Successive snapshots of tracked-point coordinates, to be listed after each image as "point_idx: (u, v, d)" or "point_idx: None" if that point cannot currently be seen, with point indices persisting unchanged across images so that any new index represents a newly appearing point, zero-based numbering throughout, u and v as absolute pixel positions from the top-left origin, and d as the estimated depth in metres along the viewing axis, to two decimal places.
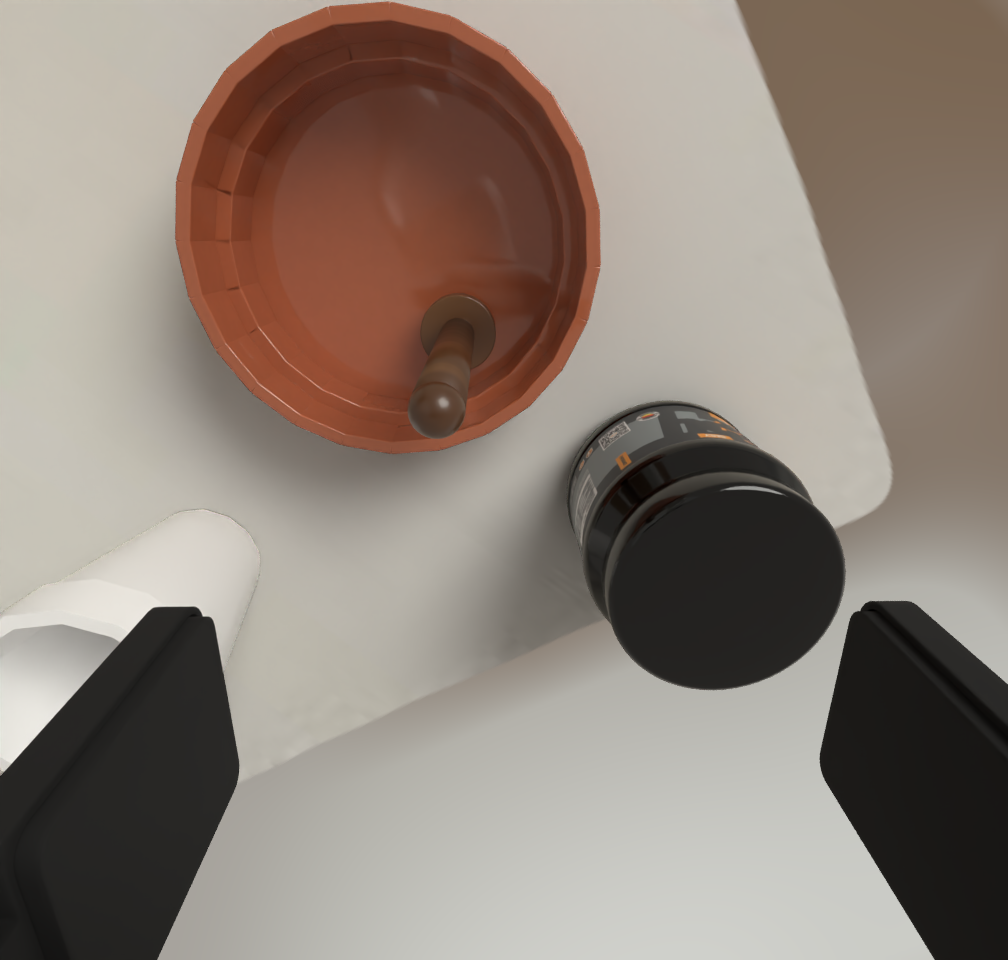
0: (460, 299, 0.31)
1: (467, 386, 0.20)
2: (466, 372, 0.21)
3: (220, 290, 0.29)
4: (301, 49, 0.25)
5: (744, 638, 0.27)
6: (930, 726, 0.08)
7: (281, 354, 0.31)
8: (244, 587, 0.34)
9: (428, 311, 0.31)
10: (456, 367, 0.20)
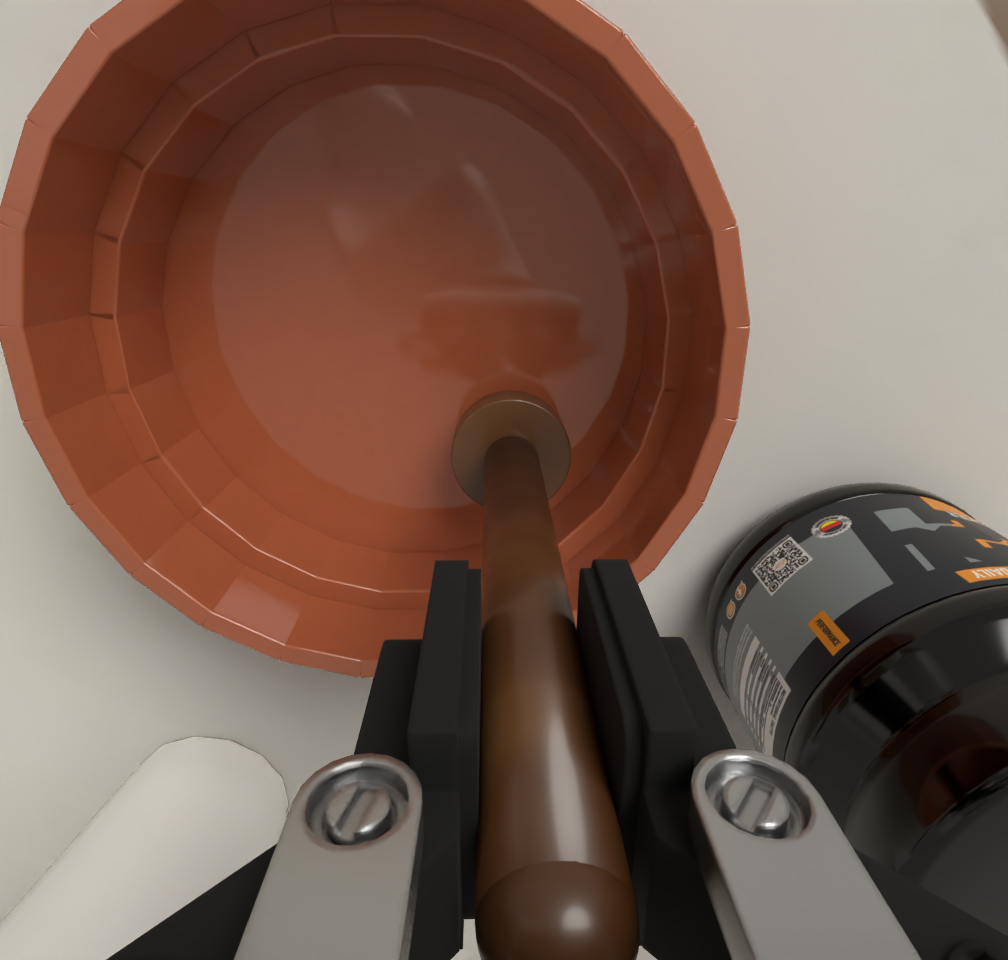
0: (506, 406, 0.19)
1: (597, 727, 0.09)
2: (579, 661, 0.10)
3: (128, 469, 0.18)
4: (159, 53, 0.14)
5: None
6: (596, 661, 0.09)
7: (246, 539, 0.20)
8: None
9: (459, 433, 0.19)
10: (562, 683, 0.09)
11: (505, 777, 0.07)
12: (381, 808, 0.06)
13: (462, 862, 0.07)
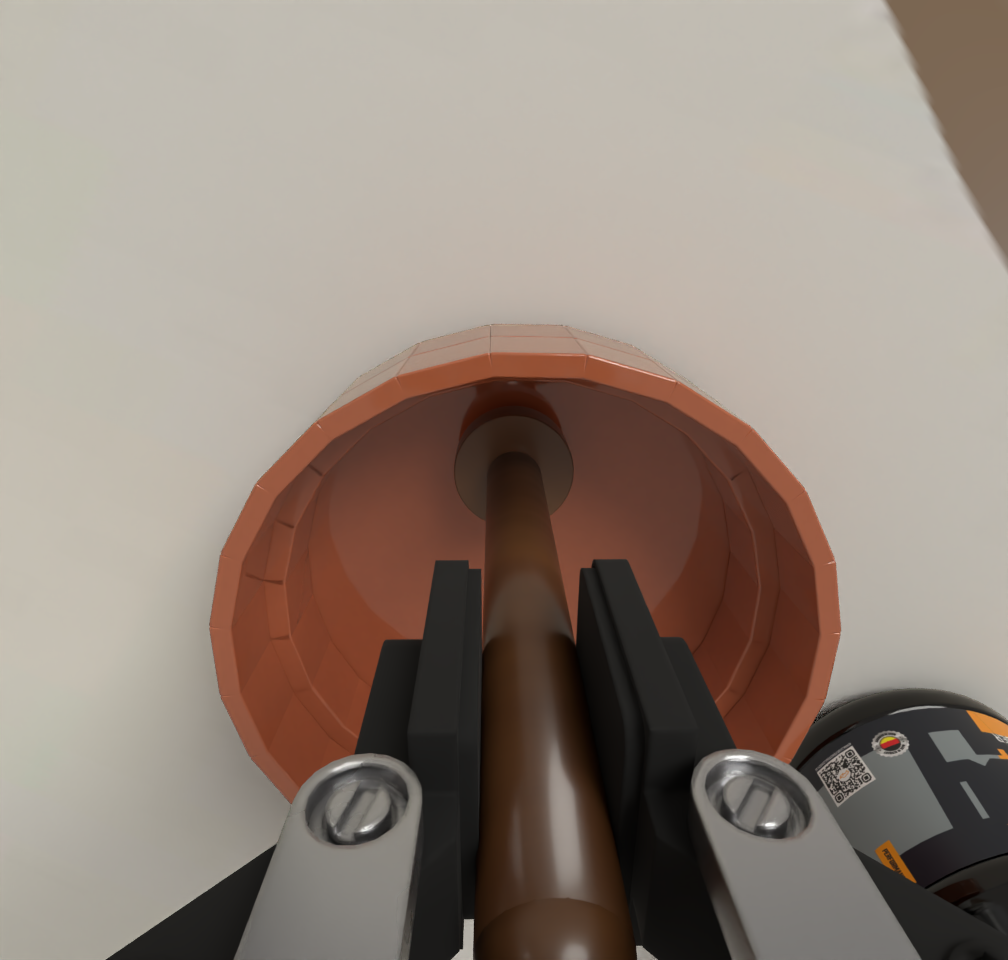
0: (482, 513, 0.20)
1: (482, 756, 0.08)
2: None
3: (287, 704, 0.21)
4: None
5: None
6: (596, 660, 0.09)
7: None
8: None
9: None
10: None
11: None
12: (381, 808, 0.06)
13: (462, 862, 0.07)
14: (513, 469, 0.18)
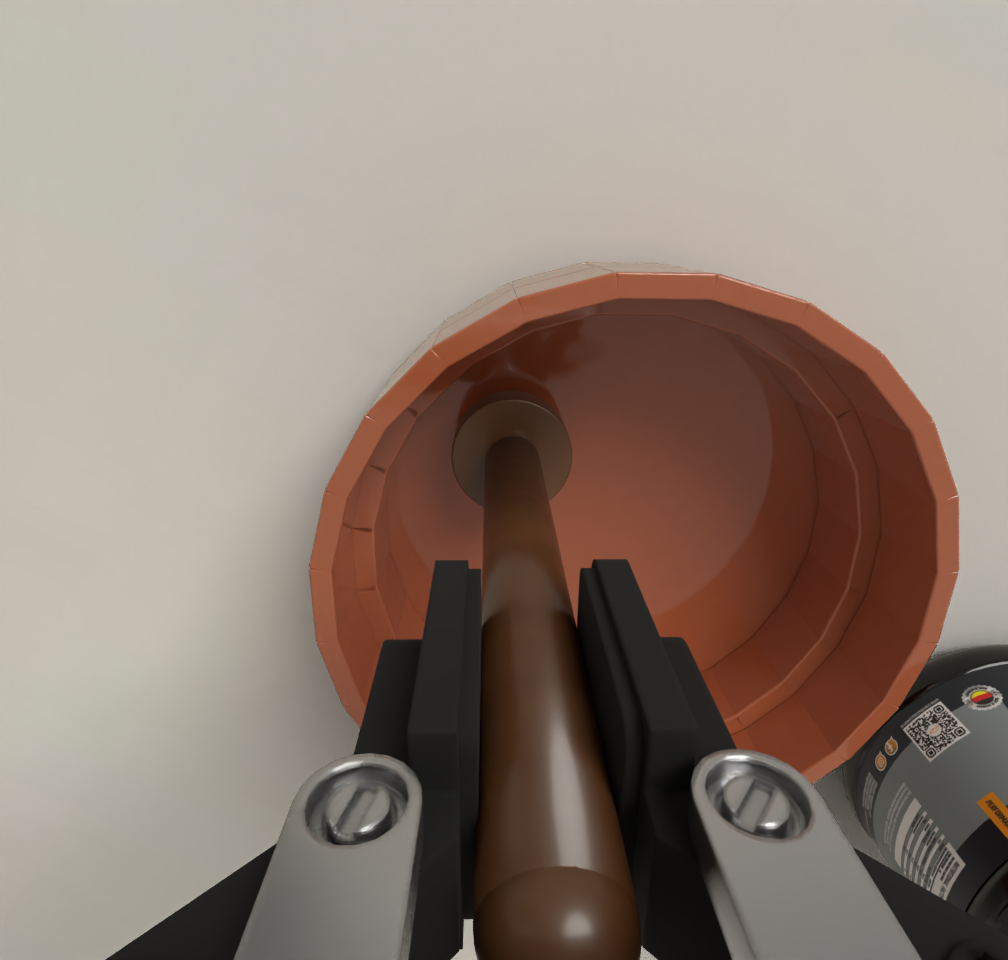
0: None
1: None
2: None
3: (373, 657, 0.20)
4: None
5: None
6: (596, 660, 0.09)
7: None
8: None
9: (563, 482, 0.20)
10: None
11: None
12: (381, 808, 0.06)
13: (462, 862, 0.07)
14: (492, 461, 0.17)
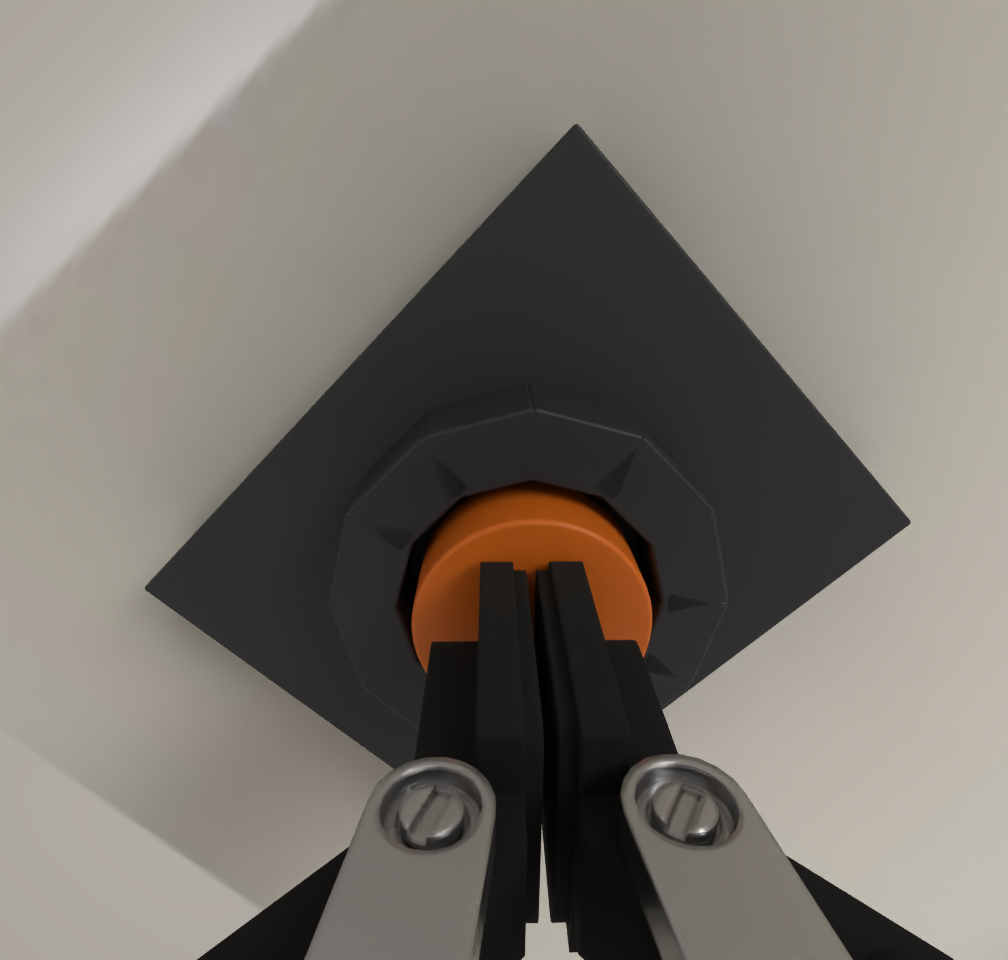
0: None
1: None
2: None
3: None
4: None
5: None
6: (544, 663, 0.09)
7: None
8: None
9: None
10: None
11: None
12: (455, 812, 0.06)
13: None
14: None
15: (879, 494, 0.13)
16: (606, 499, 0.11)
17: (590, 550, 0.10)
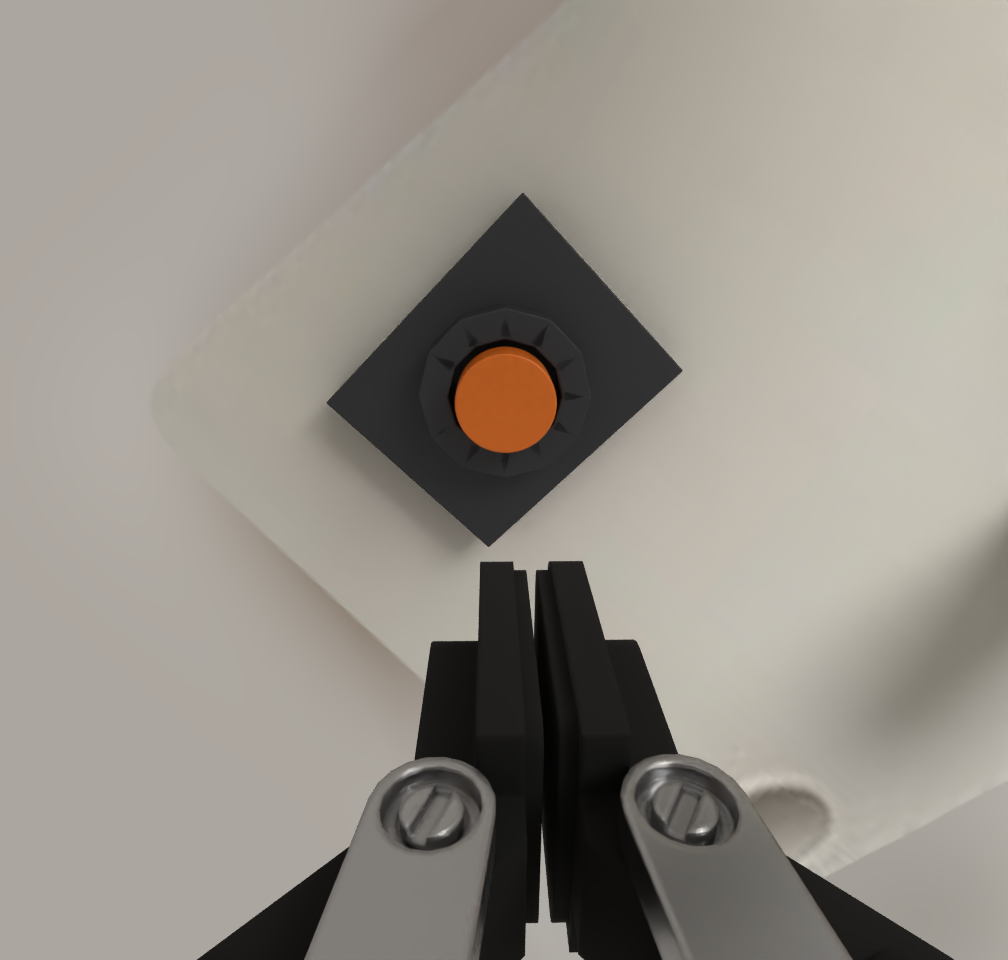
0: None
1: None
2: None
3: None
4: None
5: None
6: (544, 664, 0.09)
7: None
8: None
9: None
10: None
11: None
12: (455, 812, 0.06)
13: None
14: None
15: (666, 356, 0.28)
16: (536, 347, 0.26)
17: (529, 367, 0.25)
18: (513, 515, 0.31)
